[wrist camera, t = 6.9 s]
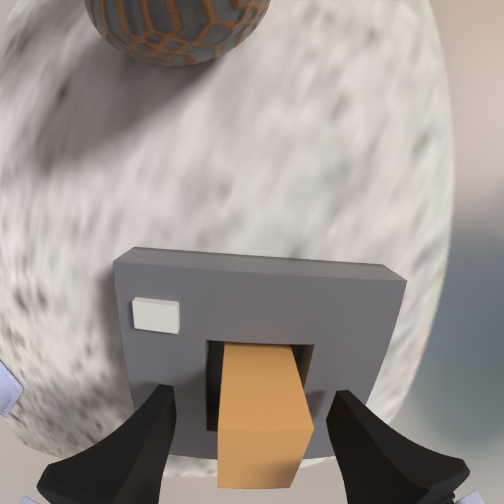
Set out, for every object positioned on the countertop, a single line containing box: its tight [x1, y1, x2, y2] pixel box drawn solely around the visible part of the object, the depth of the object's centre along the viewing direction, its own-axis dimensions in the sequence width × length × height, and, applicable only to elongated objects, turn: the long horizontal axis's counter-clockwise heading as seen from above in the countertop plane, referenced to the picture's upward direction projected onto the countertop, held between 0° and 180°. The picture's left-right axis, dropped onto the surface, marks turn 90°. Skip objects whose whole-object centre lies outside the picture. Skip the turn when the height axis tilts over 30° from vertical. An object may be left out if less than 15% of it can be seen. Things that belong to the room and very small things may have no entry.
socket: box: [113, 247, 407, 460], centre depth 13 cm, size 12×12×3 cm
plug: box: [218, 341, 314, 489], centre depth 11 cm, size 4×3×6 cm, turn 176°
